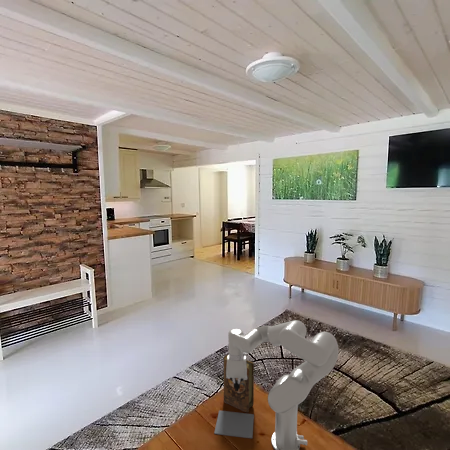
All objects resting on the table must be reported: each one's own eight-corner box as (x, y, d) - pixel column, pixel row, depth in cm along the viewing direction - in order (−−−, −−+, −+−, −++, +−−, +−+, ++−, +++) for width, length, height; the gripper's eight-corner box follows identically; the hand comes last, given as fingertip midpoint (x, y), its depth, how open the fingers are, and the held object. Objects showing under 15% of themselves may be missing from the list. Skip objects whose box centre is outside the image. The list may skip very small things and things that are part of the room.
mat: (253, 415, 143) (253, 414, 143) (252, 438, 130) (252, 437, 129) (219, 411, 146) (219, 410, 146) (214, 433, 132) (214, 433, 132)
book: (222, 401, 153) (222, 358, 150) (227, 395, 158) (227, 353, 155) (248, 413, 144) (249, 368, 142) (253, 406, 149) (254, 362, 146)
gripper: (251, 351, 141) (252, 385, 143) (222, 349, 143) (223, 383, 145) (251, 360, 134) (251, 396, 135) (220, 358, 136) (221, 393, 138)
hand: (236, 389), depth 140 cm, fingers closed
